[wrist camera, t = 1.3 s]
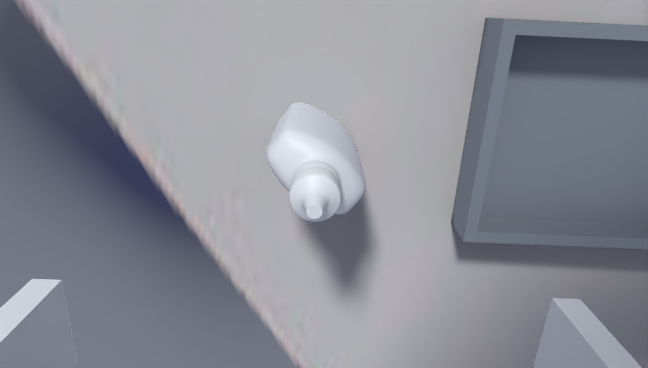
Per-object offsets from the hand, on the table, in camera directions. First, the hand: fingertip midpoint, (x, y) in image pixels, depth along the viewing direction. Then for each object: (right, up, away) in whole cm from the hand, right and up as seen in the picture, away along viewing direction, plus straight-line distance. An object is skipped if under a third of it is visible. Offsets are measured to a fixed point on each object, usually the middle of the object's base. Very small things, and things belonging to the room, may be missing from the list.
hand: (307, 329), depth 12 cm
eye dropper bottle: (0, +7, +18) cm, 19 cm away
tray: (+20, +7, +18) cm, 28 cm away
